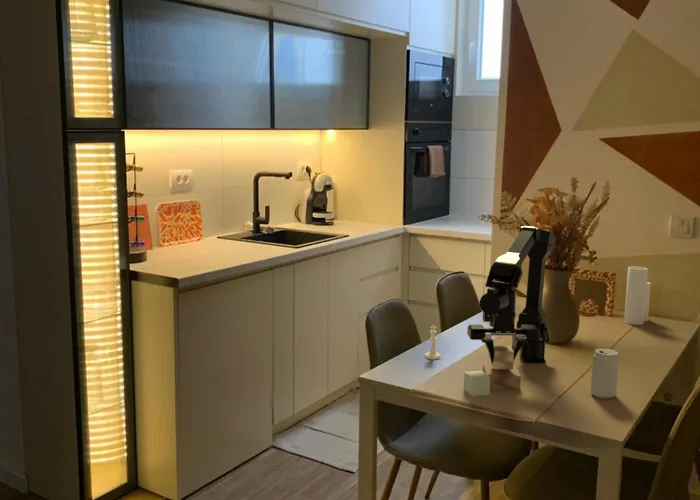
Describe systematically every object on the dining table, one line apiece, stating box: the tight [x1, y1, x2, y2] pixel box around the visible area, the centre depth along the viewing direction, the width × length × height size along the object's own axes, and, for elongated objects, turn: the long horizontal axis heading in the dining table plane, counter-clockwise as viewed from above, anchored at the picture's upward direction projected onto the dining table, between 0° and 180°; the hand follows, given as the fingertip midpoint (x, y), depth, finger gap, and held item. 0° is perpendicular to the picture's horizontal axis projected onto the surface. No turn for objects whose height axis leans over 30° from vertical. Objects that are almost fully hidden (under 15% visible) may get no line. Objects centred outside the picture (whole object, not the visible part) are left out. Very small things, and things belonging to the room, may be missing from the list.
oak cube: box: [490, 345, 515, 369], centre depth 196 cm, size 5×5×5 cm
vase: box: [623, 265, 652, 326], centre depth 259 cm, size 11×7×20 cm, turn 144°
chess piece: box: [424, 324, 442, 360], centre depth 218 cm, size 5×5×10 cm
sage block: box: [463, 369, 491, 397], centre depth 190 cm, size 5×5×5 cm
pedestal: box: [482, 363, 522, 390], centre depth 197 cm, size 9×9×4 cm
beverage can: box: [590, 348, 620, 400], centre depth 188 cm, size 6×6×12 cm
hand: (501, 362), depth 196 cm, fingers closed on oak cube, 5 cm apart
